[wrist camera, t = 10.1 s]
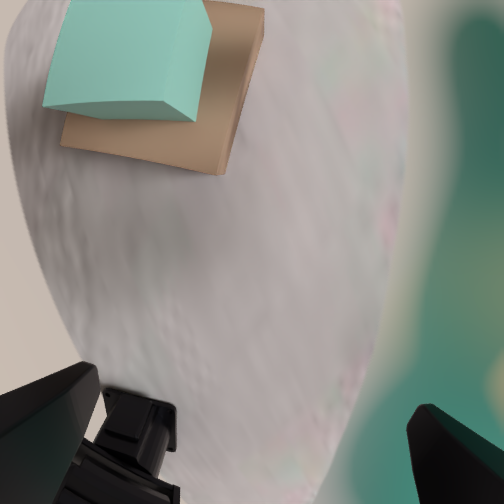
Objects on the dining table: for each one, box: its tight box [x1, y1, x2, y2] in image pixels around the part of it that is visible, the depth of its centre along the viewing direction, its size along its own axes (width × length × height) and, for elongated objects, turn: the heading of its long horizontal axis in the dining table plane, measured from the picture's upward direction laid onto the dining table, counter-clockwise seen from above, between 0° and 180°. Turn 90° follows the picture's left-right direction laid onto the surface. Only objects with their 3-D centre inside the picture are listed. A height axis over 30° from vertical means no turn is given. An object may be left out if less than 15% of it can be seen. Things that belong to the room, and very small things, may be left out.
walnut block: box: [60, 0, 264, 175], centre depth 14 cm, size 9×9×4 cm
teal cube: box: [42, 0, 213, 122], centre depth 10 cm, size 5×5×5 cm
